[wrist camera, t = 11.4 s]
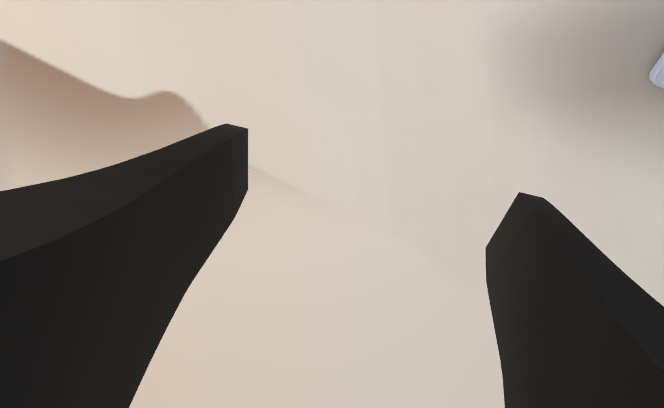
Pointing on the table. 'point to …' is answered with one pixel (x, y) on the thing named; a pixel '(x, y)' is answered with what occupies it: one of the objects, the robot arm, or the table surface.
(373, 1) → the table surface
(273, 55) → the table surface
